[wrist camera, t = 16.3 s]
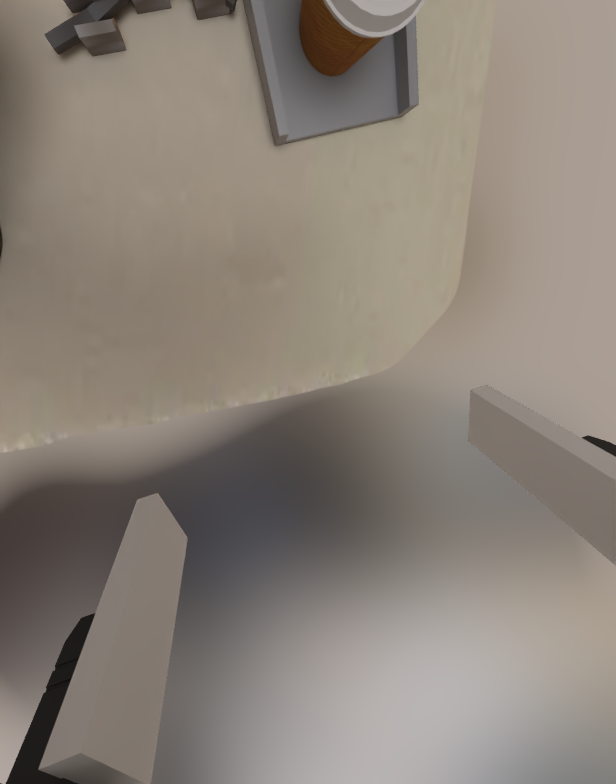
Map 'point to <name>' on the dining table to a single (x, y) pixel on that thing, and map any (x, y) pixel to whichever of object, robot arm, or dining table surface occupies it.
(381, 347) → the dining table surface
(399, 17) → the disposable coffee cup
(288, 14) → the end holder
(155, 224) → the dining table surface
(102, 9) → the clip strip
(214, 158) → the dining table surface
